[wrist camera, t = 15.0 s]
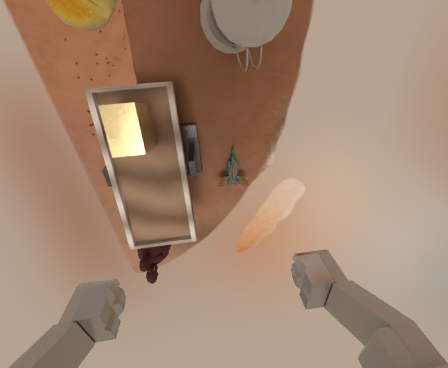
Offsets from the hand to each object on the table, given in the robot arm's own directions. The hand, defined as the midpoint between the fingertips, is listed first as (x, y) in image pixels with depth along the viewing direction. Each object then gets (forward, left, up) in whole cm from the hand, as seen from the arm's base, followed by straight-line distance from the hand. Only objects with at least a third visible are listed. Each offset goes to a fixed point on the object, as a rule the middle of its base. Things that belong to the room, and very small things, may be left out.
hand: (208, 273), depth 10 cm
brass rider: (0, -9, -26) cm, 28 cm away
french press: (-12, +7, -34) cm, 37 cm away
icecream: (+26, -13, -34) cm, 45 cm away
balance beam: (+8, -9, -26) cm, 29 cm away
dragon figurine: (+8, +6, -34) cm, 36 cm away
